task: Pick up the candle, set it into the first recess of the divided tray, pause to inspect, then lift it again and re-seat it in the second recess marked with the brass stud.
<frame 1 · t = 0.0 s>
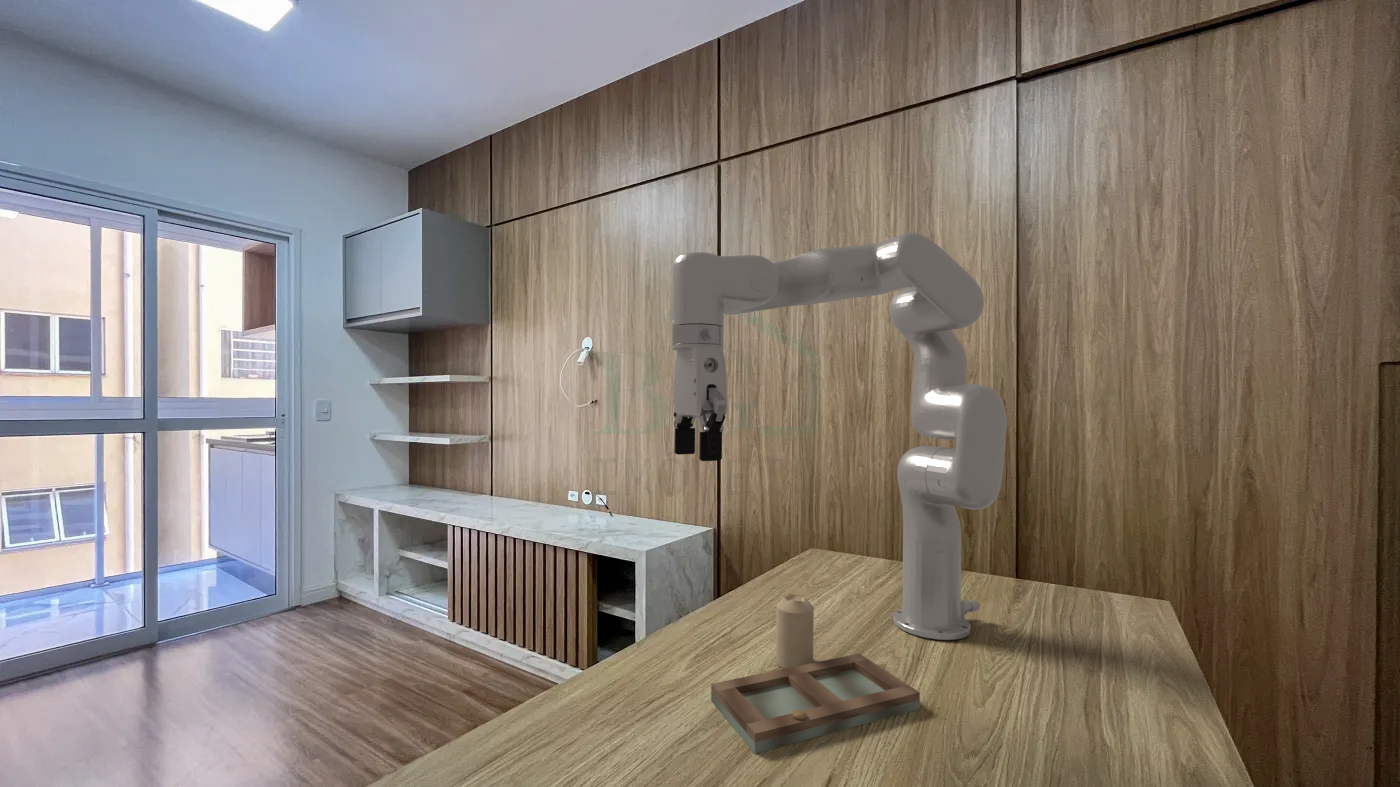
hand: (697, 457, 83), 31 cm above the table, fingers open, 9 cm apart
candle: (794, 664, 85), on the table
divided tray: (814, 705, 74), on the table
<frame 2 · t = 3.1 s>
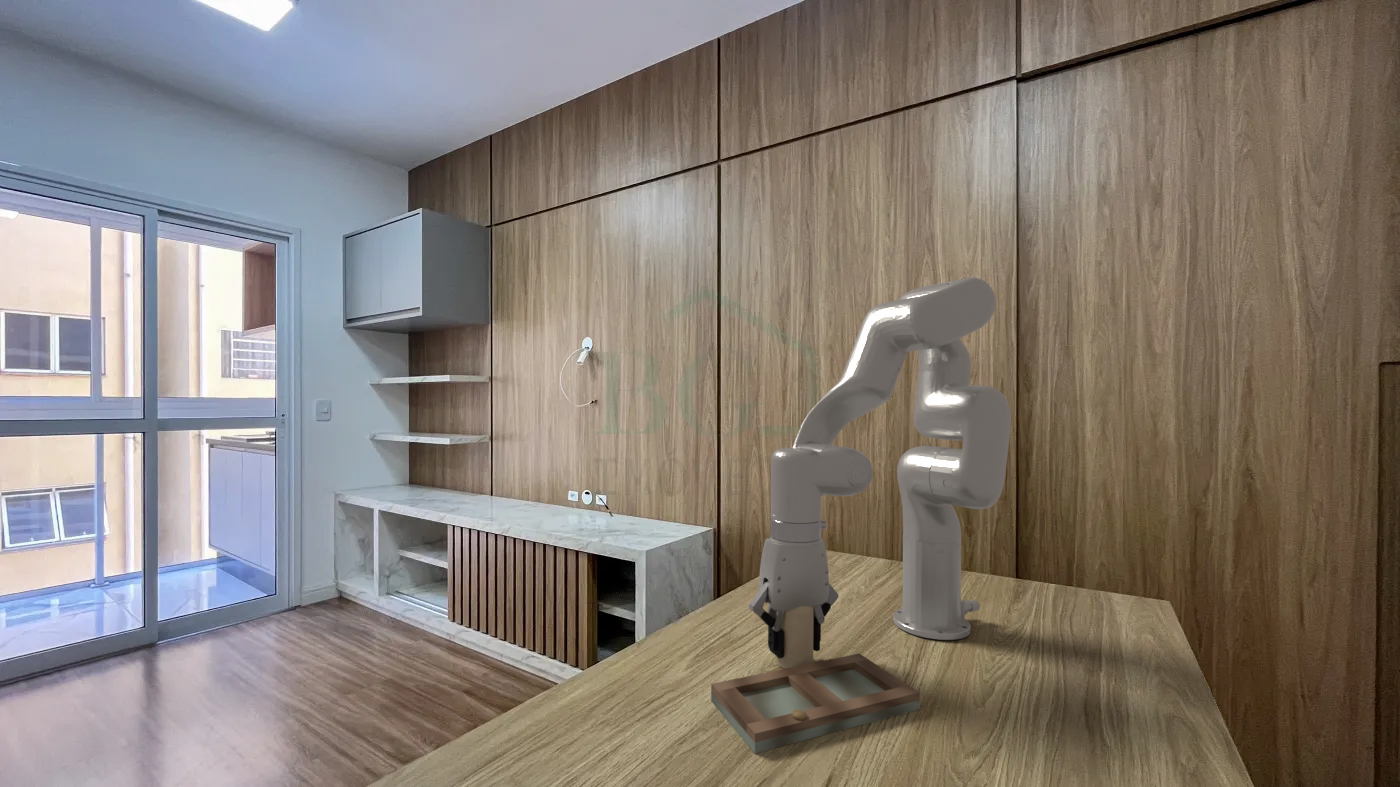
hand: (794, 649, 85), 2 cm above the table, fingers closed on candle, 5 cm apart
candle: (794, 664, 85), on the table, touching gripper
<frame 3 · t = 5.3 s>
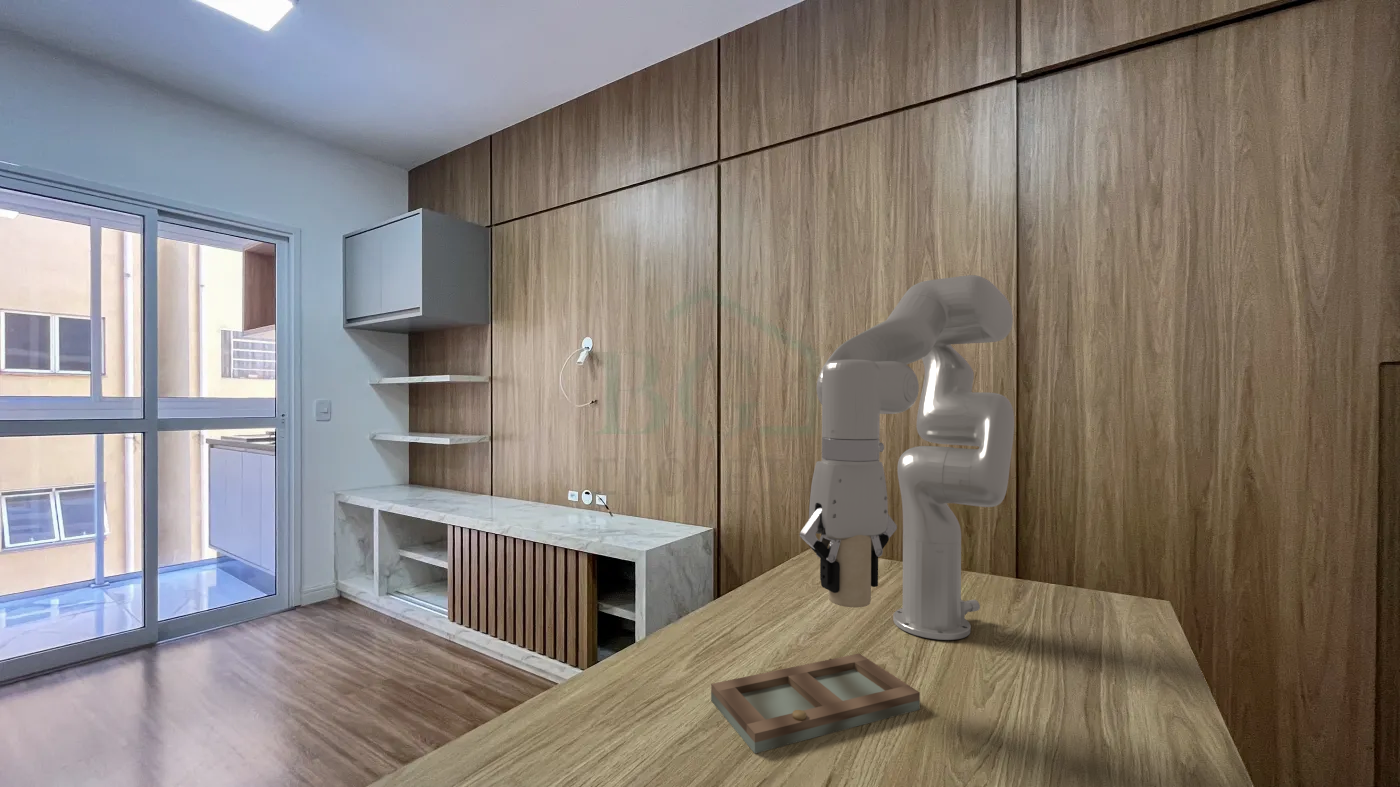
hand: (849, 585, 76), 15 cm above the table, fingers closed on candle, 5 cm apart
candle: (849, 602, 76), point 13 cm above the table, touching gripper
when the fingers open (5 cm above the table, at t = 7.5 s): candle drops 1 cm, resting on divided tray.
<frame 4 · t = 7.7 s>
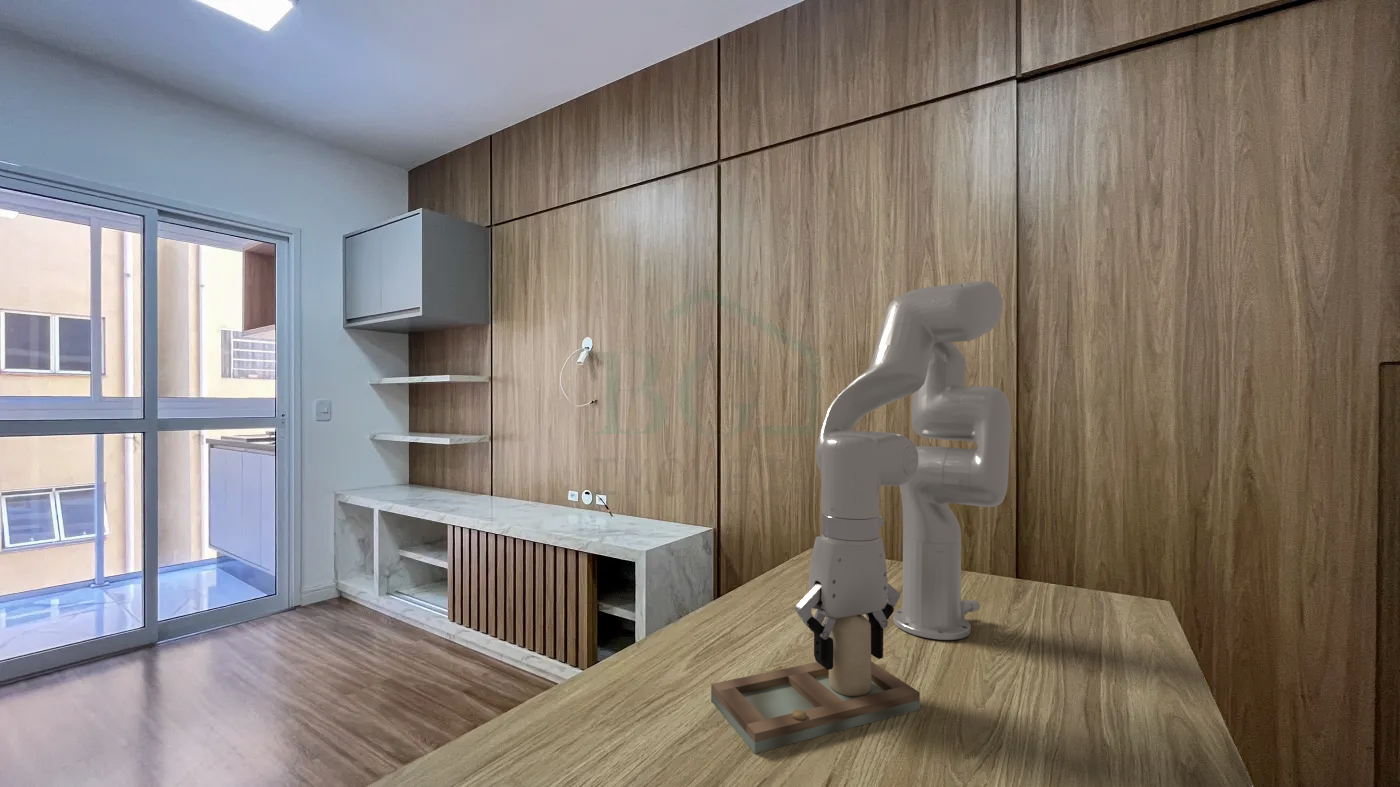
hand: (849, 658, 76), 5 cm above the table, fingers open, 7 cm apart
candle: (849, 688, 76), point 1 cm above the table, touching divided tray
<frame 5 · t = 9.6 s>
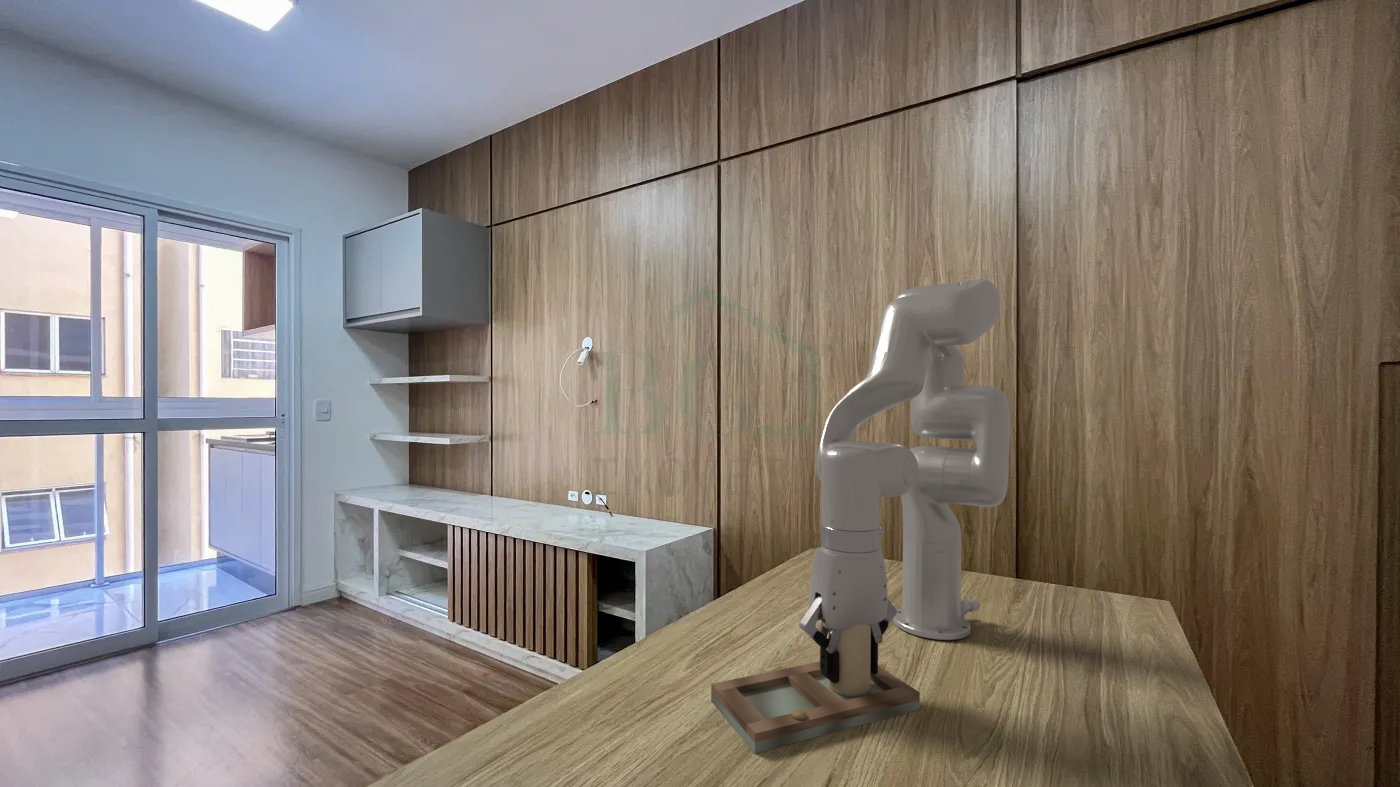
hand: (849, 672, 76), 3 cm above the table, fingers closed on candle, 5 cm apart
candle: (848, 688, 76), point 1 cm above the table, touching gripper, divided tray
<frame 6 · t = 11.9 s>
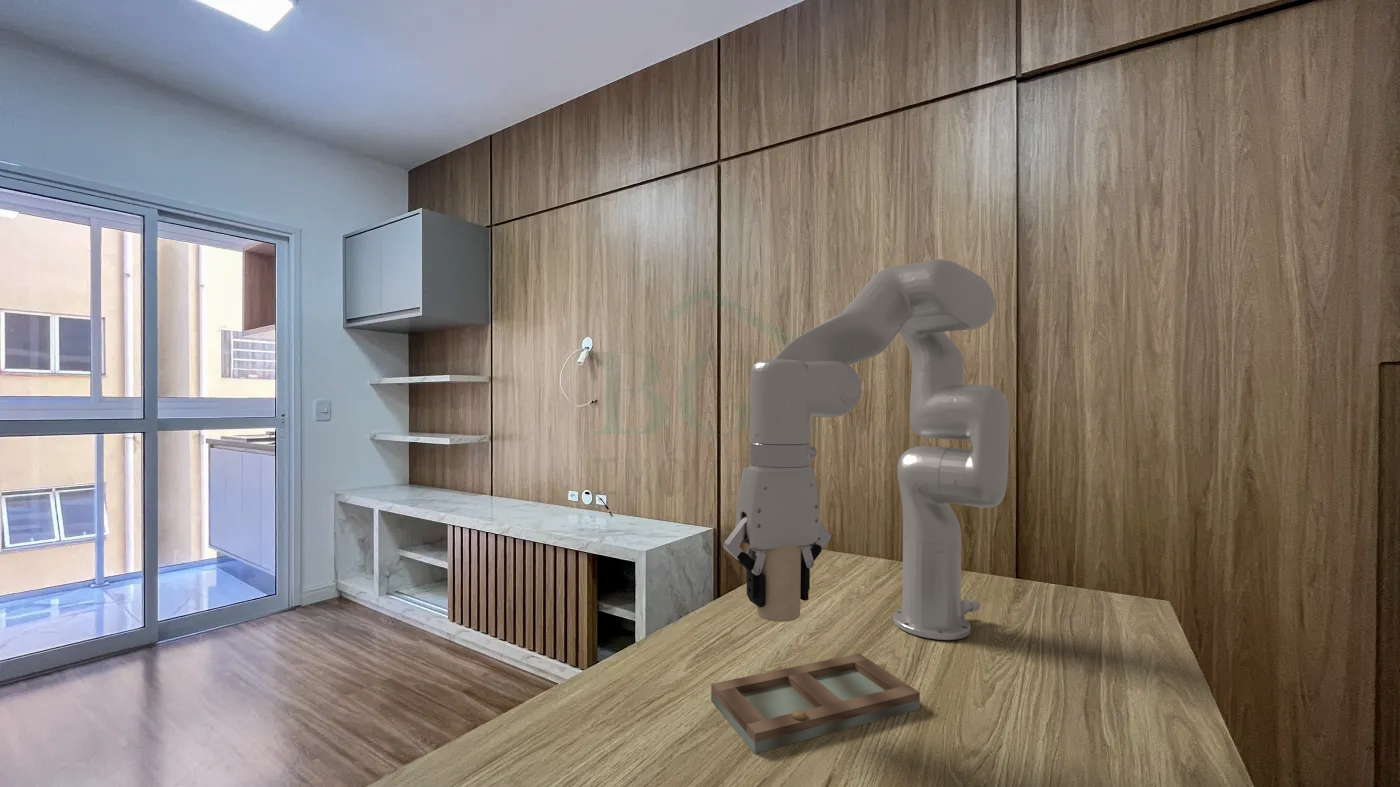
hand: (778, 598, 72), 14 cm above the table, fingers closed on candle, 5 cm apart
candle: (778, 615, 72), point 12 cm above the table, touching gripper
when the fingers open (5 cm above the table, at t = 14.0 s): candle drops 1 cm, resting on divided tray.
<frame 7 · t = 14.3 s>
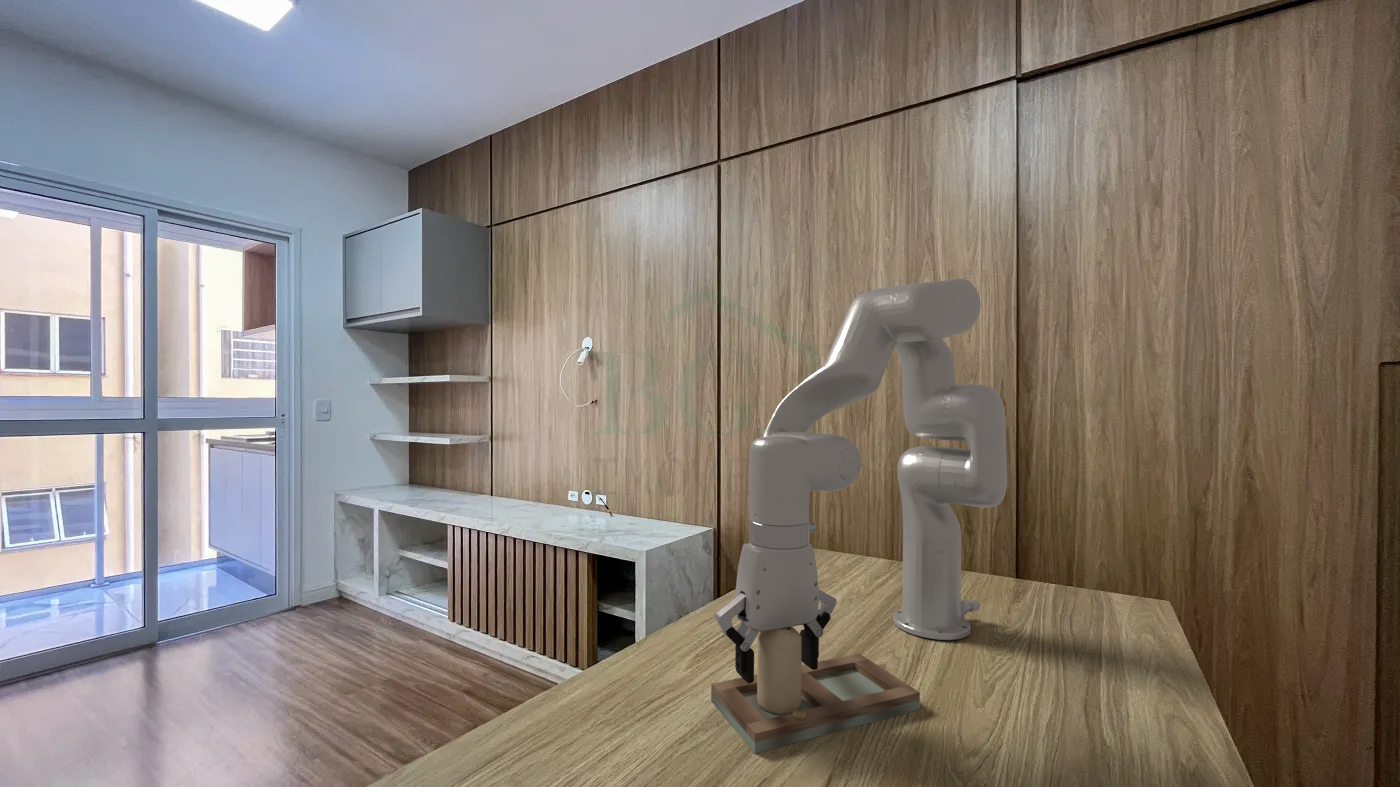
hand: (777, 671, 72), 5 cm above the table, fingers open, 8 cm apart
candle: (779, 704, 72), point 1 cm above the table, touching divided tray
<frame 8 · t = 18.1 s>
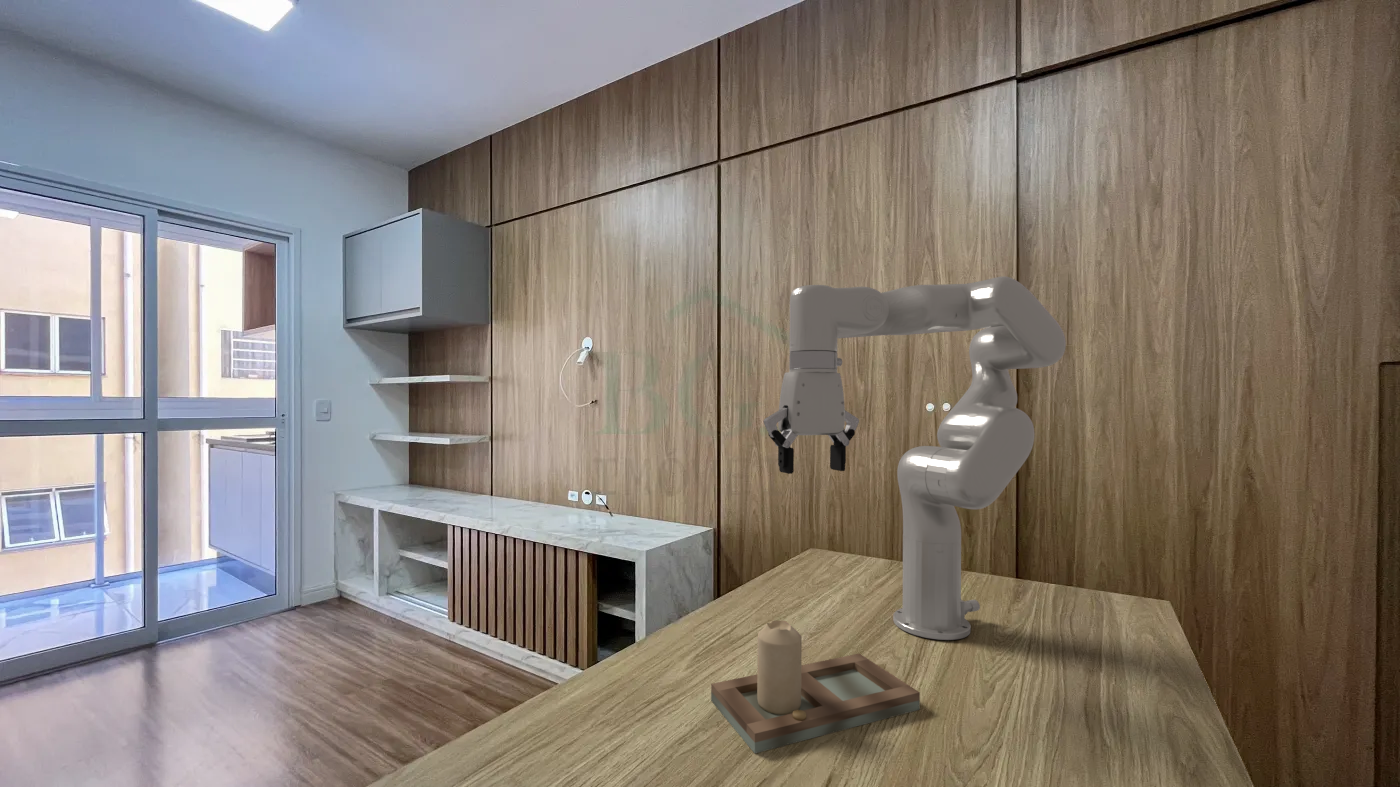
hand: (812, 471, 90), 28 cm above the table, fingers open, 9 cm apart
nothing on the table moved.
at the end: candle 0.3 cm from the target spot on the divided tray, point 1.0 cm above the divided tray's base; candle tilted 0°; the gripper is holding nothing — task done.
